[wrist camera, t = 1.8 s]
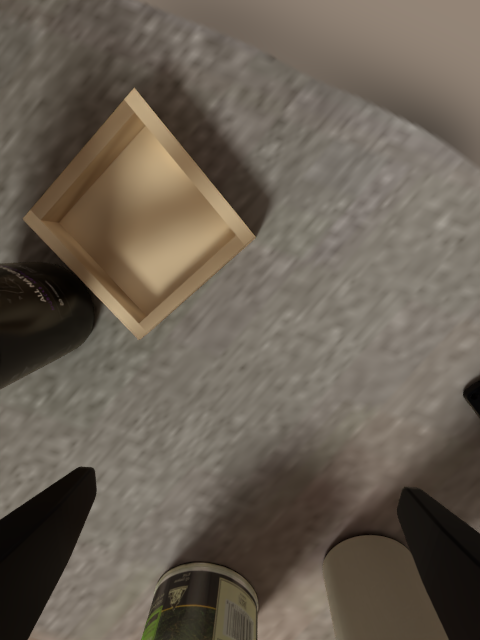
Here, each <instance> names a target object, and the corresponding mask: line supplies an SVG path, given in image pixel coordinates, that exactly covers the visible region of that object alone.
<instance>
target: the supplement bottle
mask: <svg viewBox="0 0 480 640" xmlns="http://www.w3.org/2000/svg"><path fill="white" fill-rule="evenodd" d="M93 322H94V309H93V304H92V301H91V298H90V296H89V293H88V292H87V290H86V288H85V287H84V285H83V284H82V283H81V282H80V281H79V279H77V278H76V277H75V276H74V275H73V274H72V273H70V272H69V271H67V270H66V269H64V268H62V267H60V266H57V265H54V264H50V263H44V262H22V263H2V264H0V389H2V388H4V387H6V386H8V385H10V384H11V383H13V382H15V381H17V380H19V379H21V378H23V377H25V376H27V375H28V374H30V373H32V372H34V371H36V370H38V369H40V368H42V367H44V366H45V365H47V364H49V363H51V362H53V361H55V360H57V359H59V358H61V357H62V356H64V355H66V354H68V353H70V352H71V351H73V350H75V349H76V348H78V347H79V346H81V345H82V344H83V343H84V342H85V340H86V339H87V338H88V336H89V334H90V332H91V330H92V327H93Z"/></svg>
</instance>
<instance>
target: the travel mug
mask: <svg viewBox="0 0 480 640" xmlns="http://www.w3.org/2000/svg"><path fill="white" fill-rule="evenodd" d="M322 570H323V577H324V582H325V587H326V592H327V597H328V602H329V607H330V612H331V617H332V622H333V628H334V633H335V638H336V640H449V639H448V637H447V635H446V633H445V630H444V628H443V626H442V624H441V622H440V620H439V618H438V615H437V613H436V611H435V609H434V607H433V605H432V602H431V600H430V598H429V596H428V594H427V592H426V589H425V587H424V585H423V583H422V580H421V578H420V575H419V573H418V570H417V567H416V565H415V562H414V559H413V557H412V554H411V552H410V551H409V550H408V549H407V548H406V547H405V546H403V545H402V544H401V543H399V542H397V541H395V540H393V539H390V538H387V537H383V536H377V535H364V536H357V537H353V538H350V539H347V540H345V541H343V542H341V543H339V544H338V545H336V546H335V547H334V548H333V549H332V550H331V551H330V552H329V553H328V554H327V556H326V558H325V560H324V562H323V569H322Z"/></svg>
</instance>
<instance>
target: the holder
mask: <svg viewBox="0 0 480 640" xmlns="http://www.w3.org/2000/svg"><path fill="white" fill-rule="evenodd" d="M23 220H24V221H25V222H26V223H27V224H28V225H29V226H30V227H31V228H32V229H33V231H34V232H35V233H36V234H37V235H38V236H39V237H40V238H41V239H42V240H43V241H44V242H45V243H46V244H47V245H48V246H49V247H50V248H51V249H52V250H53V251H54V252H55V253H56V254H57V255H58V256H59V258H60V259H61V260H62V261H63V262H64V263H65V264H66V265H67V266H68V267H69V268H70V269H71V270H72V271H73V272H74V273H75V274H76V275H77V276H78V277H79V278H80V279H81V280H82V281H83V282H84V283H85V285H86V286H87V287H88V288H89V289H90V290H91V291H92V292H93V293H94V294H95V295H96V296H97V297H98V298H99V299H100V300H101V301H102V302H103V303H104V304H105V305H106V306H107V307H108V308H109V309H110V310H111V312H112V313H113V314H114V315H115V316H116V317H117V318H118V319H119V320H120V321H121V322H122V323H123V324H124V325H125V326H126V327H127V328H128V329H129V330H130V331H131V332H132V333H133V334H134V335H135V336H136V337H137V339H138V340H140V339H141V338H142V337H144V336H145V335H146V334H148V333H149V332H150V331H151V330H153V329H154V328H155V327H156V326H157V325H158V324H159V323H160V322H162V321H163V320H164V319H165V318H166V317H167V316H168V315H169V314H171V313H172V312H173V311H174V310H175V309H176V308H177V307H178V306H180V305H181V304H182V303H183V302H184V301H185V300H186V299H188V298H189V297H190V296H191V295H192V294H193V293H194V292H195V291H197V290H198V289H199V288H200V287H201V286H202V285H203V284H204V283H206V282H207V281H208V280H209V279H210V278H211V277H212V276H213V275H215V274H216V273H217V272H218V271H219V270H220V269H221V268H222V267H224V266H225V265H226V264H227V263H228V262H229V261H230V260H232V259H233V258H234V257H235V256H236V255H237V254H238V253H239V252H241V251H242V250H243V249H244V248H245V247H246V246H247V245H248V244H250V243H251V242H252V241H253V240H254V239H255V238H256V237H255V235H254V234H253V233H252V232H251V231H250V229H249V228H248V227H247V226H246V224H245V223H244V222H243V221H242V219H241V218H240V217H239V216H238V215H237V213H236V212H235V211H234V210H233V208H232V207H231V206H230V205H229V204H228V202H227V201H226V200H225V199H224V197H223V196H222V195H221V194H220V192H219V191H218V190H217V189H216V188H215V186H214V185H213V184H212V183H211V181H210V180H209V179H208V178H207V176H206V175H205V174H204V173H203V172H202V170H201V169H200V168H199V167H198V165H197V164H196V163H195V162H194V161H193V159H192V158H191V157H190V156H189V154H188V153H187V152H186V151H185V149H184V148H183V147H182V146H181V145H180V143H179V142H178V141H177V140H176V138H175V137H174V136H173V135H172V133H171V132H170V131H169V130H168V129H167V127H166V126H165V125H164V124H163V122H162V121H161V120H160V119H159V118H158V116H157V115H156V114H155V113H154V111H153V110H152V109H151V108H150V106H149V105H148V104H147V103H146V102H145V100H144V99H143V98H142V97H141V95H140V94H139V93H138V92H137V91H136V89H135V88H134V89H133V90H132V91H131V92H130V93H129V94H128V96H127V97H126V98H125V99H124V100H123V101H122V103H121V104H120V105H119V106H118V107H117V108H116V110H115V111H114V112H113V113H112V114H111V116H110V117H109V118H108V119H107V120H106V121H105V123H104V124H103V125H102V126H101V127H100V128H99V130H98V131H97V132H96V133H95V134H94V136H93V137H92V138H91V139H90V140H89V141H88V143H87V144H86V145H85V146H84V147H83V148H82V150H81V151H80V152H79V153H78V154H77V155H76V157H75V158H74V159H73V160H72V161H71V163H70V164H69V165H68V166H67V167H66V168H65V170H64V171H63V172H62V173H61V174H60V175H59V177H58V178H57V179H56V180H55V181H54V183H53V184H52V185H51V186H50V187H49V188H48V190H47V191H46V192H45V193H44V194H43V195H42V197H41V198H40V199H39V200H38V201H37V202H36V204H35V205H34V206H33V207H32V208H31V210H30V211H29V212H28V213H27V214H26V215H25V217H24V218H23Z"/></svg>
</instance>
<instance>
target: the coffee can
mask: <svg viewBox="0 0 480 640" xmlns="http://www.w3.org/2000/svg"><path fill="white" fill-rule="evenodd" d="M257 619H258V599H257V595H256V593H255V591H254V588H253V587H252V586H251V585H250V584H249V583H248V581H247V580H246V579H244V578H243V577H242V576H241V575H239V574H238V573H236V572H234V571H233V570H231V569H228V568H226V567H224V566H220V565H216V564H212V563H200V562H198V563H188V564H183V565H179V566H177V567H175V568H173V569H171V570H169V571H168V572H167V573H165V574H164V575H163V576H162V577H161V579H160V580H159V582H158V583H157V585H156V588H155V593H154V598H153V602H152V605H151V608H150V612H149V615H148V619H147V622H146V625H145V629H144V632H143V636H142V639H141V640H257Z"/></svg>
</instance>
